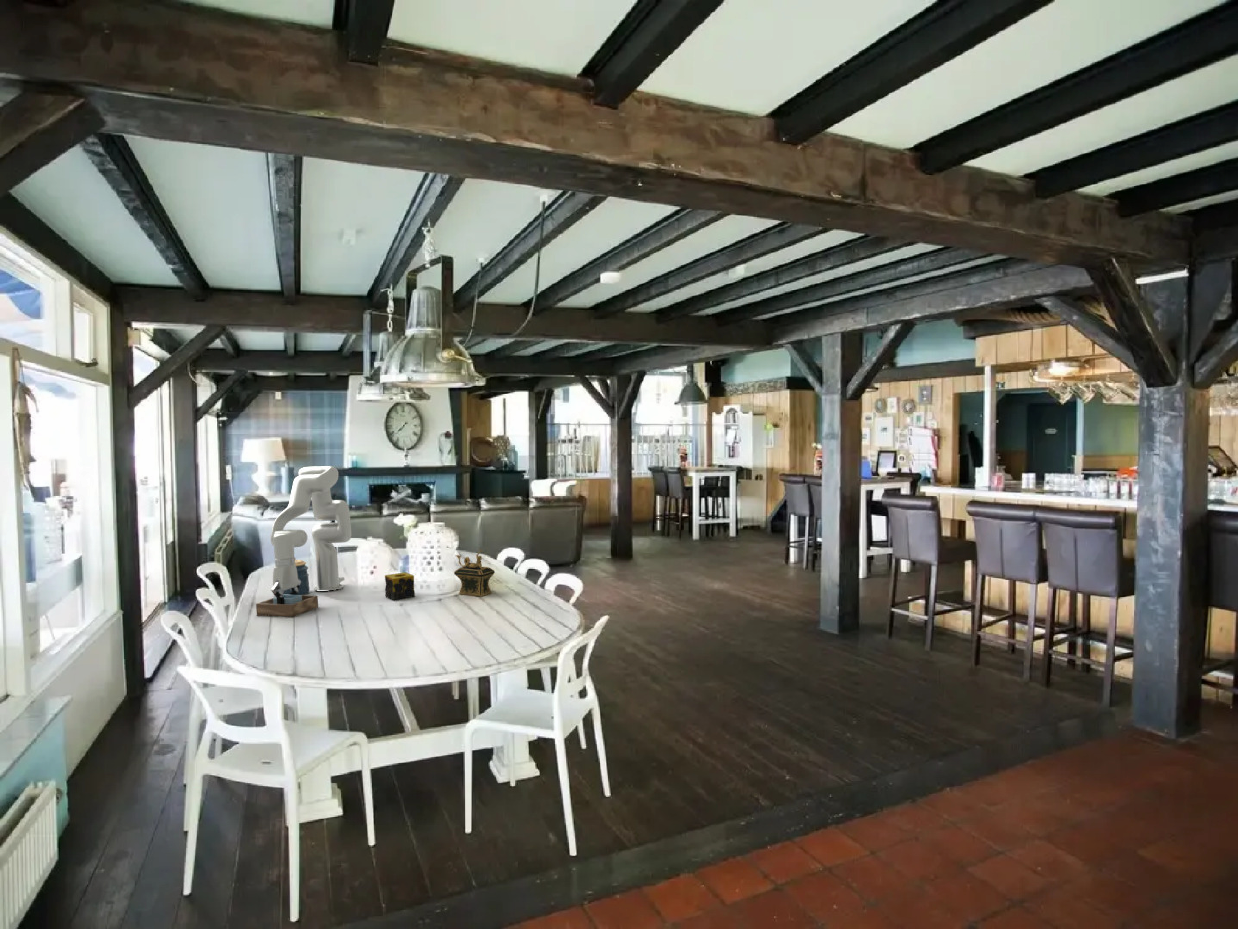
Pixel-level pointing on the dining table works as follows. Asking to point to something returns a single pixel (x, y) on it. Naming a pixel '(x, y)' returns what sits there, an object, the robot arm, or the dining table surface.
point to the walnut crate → (287, 607)
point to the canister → (301, 578)
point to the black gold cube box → (399, 586)
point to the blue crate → (289, 599)
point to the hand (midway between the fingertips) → (287, 603)
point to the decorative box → (474, 577)
